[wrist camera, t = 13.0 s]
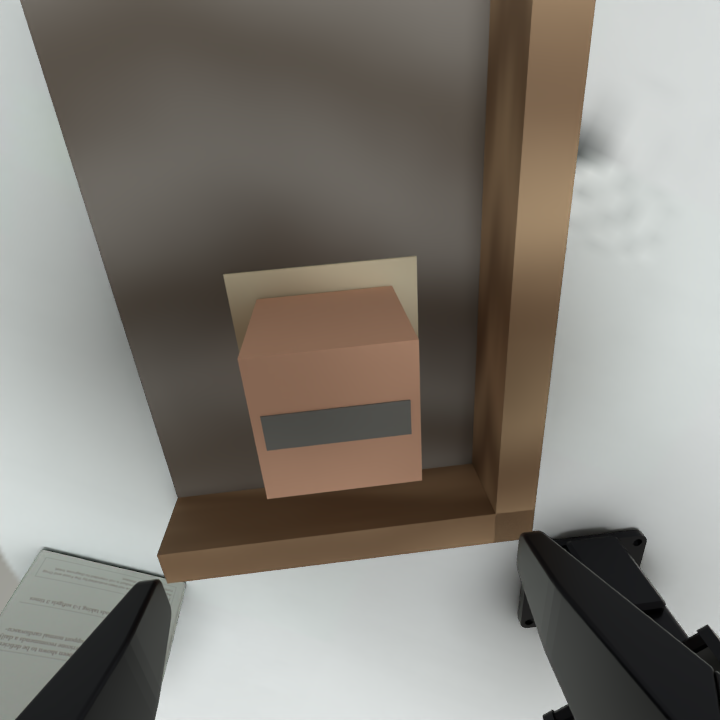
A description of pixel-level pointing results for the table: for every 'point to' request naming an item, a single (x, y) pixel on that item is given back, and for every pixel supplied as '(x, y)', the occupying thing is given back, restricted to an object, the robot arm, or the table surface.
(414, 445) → the terracotta block
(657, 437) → the table surface
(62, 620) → the supplement box
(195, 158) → the arena
